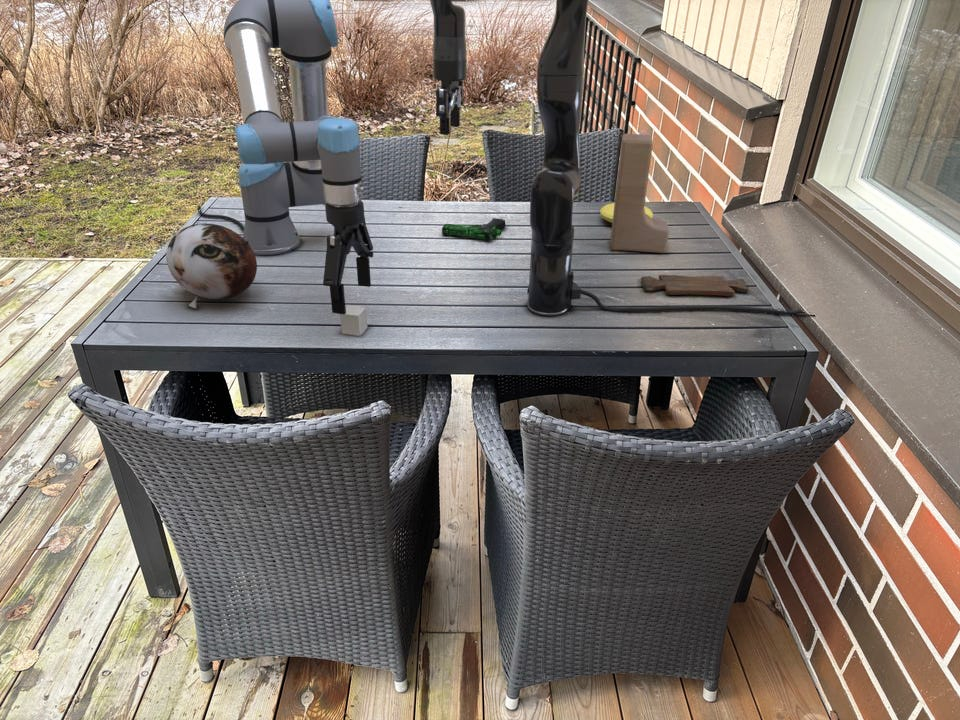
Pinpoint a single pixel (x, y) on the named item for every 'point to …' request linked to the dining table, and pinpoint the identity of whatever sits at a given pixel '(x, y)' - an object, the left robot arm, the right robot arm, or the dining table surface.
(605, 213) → the yellow rounded disc
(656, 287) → the dark wooden board
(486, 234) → the handgun
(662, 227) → the decorative block
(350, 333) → the block
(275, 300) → the dining table surface
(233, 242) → the cat face balloon
